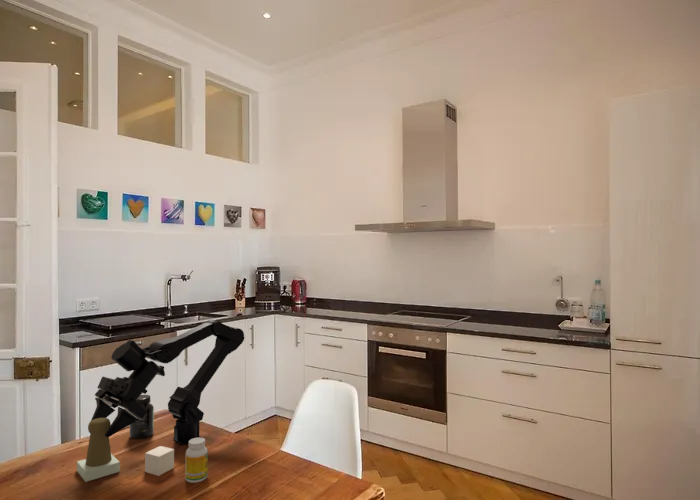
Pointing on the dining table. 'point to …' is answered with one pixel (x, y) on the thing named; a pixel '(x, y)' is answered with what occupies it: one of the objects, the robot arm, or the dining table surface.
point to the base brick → (97, 469)
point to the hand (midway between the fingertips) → (97, 432)
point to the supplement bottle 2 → (196, 461)
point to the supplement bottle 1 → (146, 425)
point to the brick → (159, 460)
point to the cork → (98, 443)
